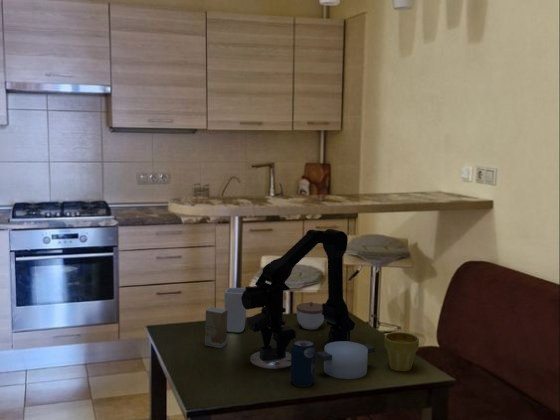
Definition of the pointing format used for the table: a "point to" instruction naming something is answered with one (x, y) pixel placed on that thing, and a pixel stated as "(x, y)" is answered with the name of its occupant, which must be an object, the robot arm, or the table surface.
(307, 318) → the lidded jar
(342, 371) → the pot
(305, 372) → the soda can
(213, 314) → the skincare box
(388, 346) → the plant pot
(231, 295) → the cup
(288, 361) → the lid
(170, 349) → the table surface
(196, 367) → the table surface
